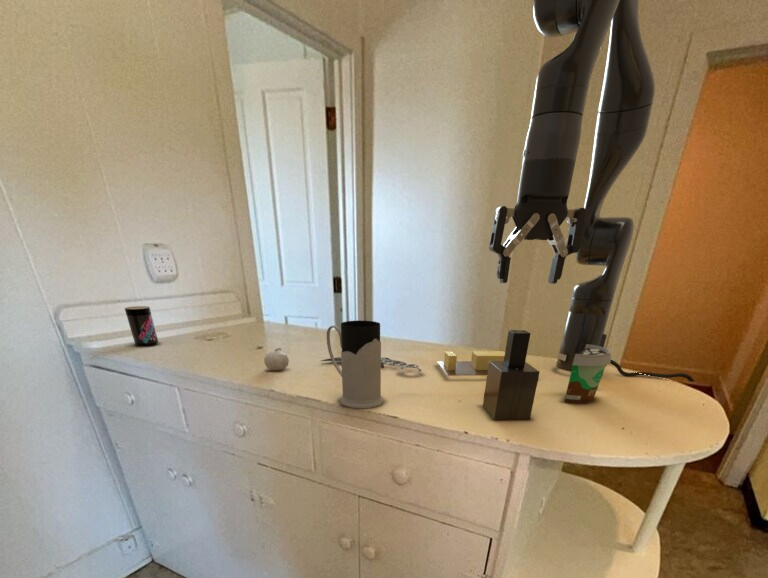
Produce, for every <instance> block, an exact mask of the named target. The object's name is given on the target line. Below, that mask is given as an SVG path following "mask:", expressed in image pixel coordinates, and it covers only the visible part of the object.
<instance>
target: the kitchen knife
mask: <svg viewBox="0 0 768 578" xmlns="http://www.w3.org/2000/svg"><path fill="white" fill-rule="evenodd" d="M530 338H531V332H529V331H527V330H525V329H508V332H507V337H506V344H505V350H504V351H505V356H504V362H503V364H504V365H505V366H506V367H507V368H513V369H515V370H518V369H517V368H524V366H525V362H526V361H527V355H528V349H529V343H530Z"/></svg>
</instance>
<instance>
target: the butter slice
mask: <svg viewBox="0 0 768 578" xmlns="http://www.w3.org/2000/svg"><path fill="white" fill-rule="evenodd" d="M457 359H458V355H457V354H456V353H455V352H454V351H451V350H450V351H449V350H447V351H444V358H443V361H444V366H445V368H446V369H447V370H456V361H458V360H457Z"/></svg>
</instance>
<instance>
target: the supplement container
mask: <svg viewBox="0 0 768 578" xmlns="http://www.w3.org/2000/svg"><path fill="white" fill-rule="evenodd" d="M124 311H125V315H126V318H127V321H128V325H129V329H130V332H131V336H132V339H133V343H134V345H135V346H137V347H142V348H143V347H153V346H157V345H158V344H159V339H158V335H157V330H156V327H155V323H154V319H153V315H152V312H151V311H152V310H151V308H150V306H148V305H147V306H146V305H135V306H126V307H124Z"/></svg>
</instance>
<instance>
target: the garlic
mask: <svg viewBox="0 0 768 578" xmlns="http://www.w3.org/2000/svg"><path fill="white" fill-rule="evenodd" d="M263 362H264V363H263V364H264V365H265V367H266V368H267V370H270V371H274V372H275V371H283V370H285V369H286V368H287V367H288V366H289V362H290V361H289V357H288V354H286V353H284V352H282V348H281V347H276V348H275V349H274V350H272V351H269V352H268V353H267V354H265V356H264V359H263Z"/></svg>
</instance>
